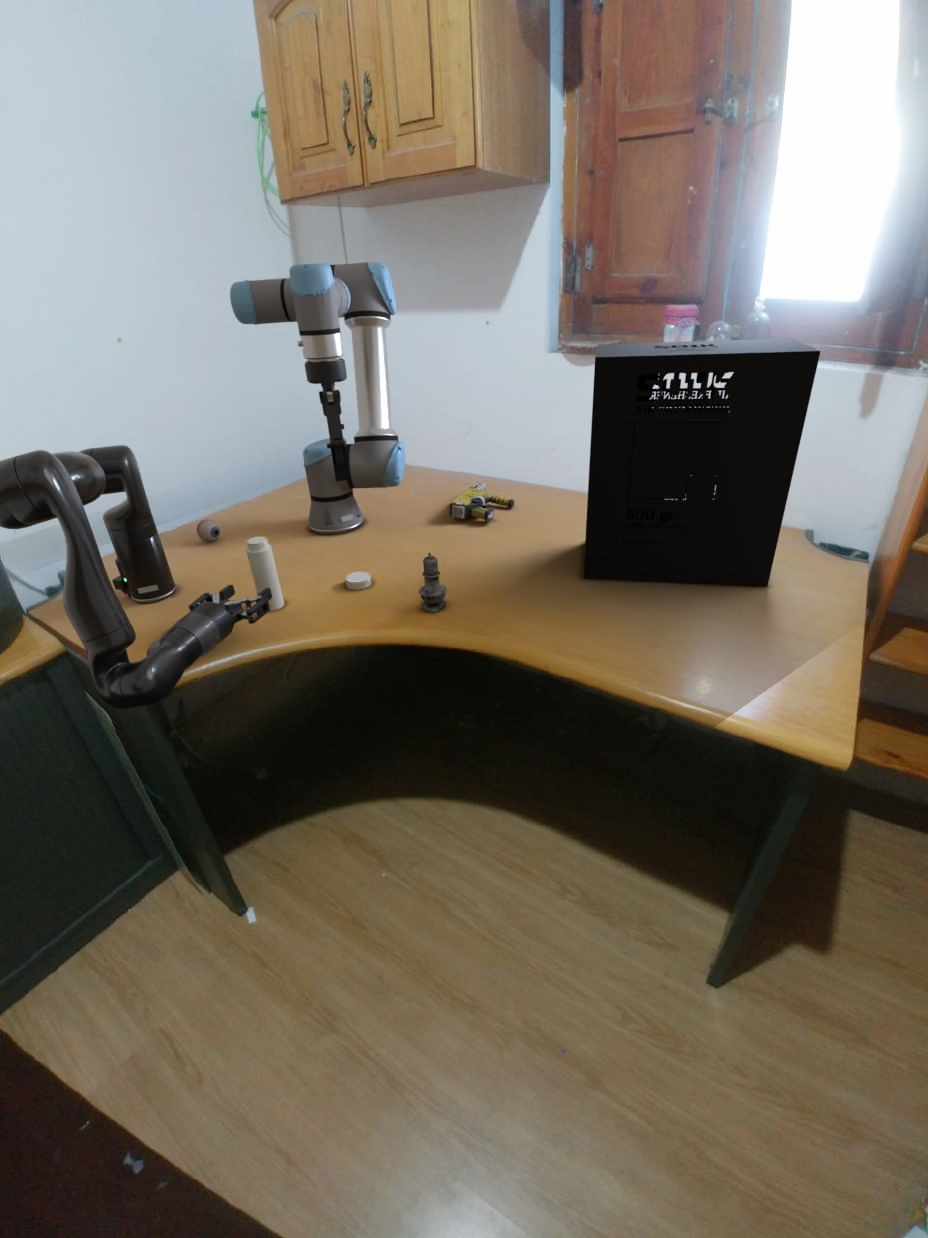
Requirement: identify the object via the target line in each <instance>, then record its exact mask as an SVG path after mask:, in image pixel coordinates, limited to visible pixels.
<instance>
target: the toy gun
mask: <svg viewBox="0 0 928 1238" xmlns="http://www.w3.org/2000/svg"><path fill="white" fill-rule="evenodd" d="M486 491H487V484H486V483H485V482H480V481H477V482H475V483H474V484H473V485H472V486H469V487H468V488H467V489H466V490H465V491H463V492H462V493H461V494H459V496H457V497H456V498H455V499H453V500H452V501H451V502H450V503H449V505H448V506H449V507H448V516H450V518H453V519H454V520H456V519H457V520H459V521H460V520H461V519H462V520H469V519H473V518H478V519H482V520H484V523H489V522H490V521H492V520H494V516H495V515H494V514H495V507H492V506H491V507H489V508H488V506H487V505H488V504H490V503H491V504H495V505H498V506H503V507H506V508H509V509H512V508H514V506H515V500H514V499H513V498H507V497H503V496H499V495H495V494H492V495H491V496H490V497H489V495H488V493H487V492H486Z"/></svg>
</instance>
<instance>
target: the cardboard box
mask: <svg viewBox="0 0 928 1238" xmlns="http://www.w3.org/2000/svg"><path fill="white" fill-rule="evenodd" d="M820 356H821V350H820V349H817V348H816V347H812V346H810V345H808V344H806V343H803V342H801V341H798V340H796V339H793V338H790V337H788V338H786V337H785V338H756V339H755V338H754V339H725V340H695V341H694V340H692V341H665V342H664V341H661V342H636V343H635V342H631V343H604V344H603V343H602V344H601V343H600V344H599V343H598V344H596V349H595V355H594V369H593V370H594V373H593V391H592V407H591V408H592V410H591V428H590V429H591V430H590V445H589V446H590V448H589V466H588V484H587V501H586V503H587V505H586V521H585V522H586V523H585V542H584V543H585V544H584V560H583V579H596V580H597V579H598V580H599V579H600V580H616V581H617V580H621V581H639V582H640V581H642V582H661V583H663V582H665V583H666V582H667V583H688V584H709V585H710V584H711V585H730V586H731V585H734V586H755V587H768V586H769V582H770V577H771V573H772V568H773V564H774V559H775V555H776V551H777V546H778V542H779V538H780V533H781V529H782V525H783V520H784V515H785V512H786V511H785V510H786V506H787V502H788V498H789V493H790V488H791V485H792V480H793V475H794V472H795V471H794V470H795V466H796V462H797V458H798V453H799V448H800V444H801V439H802V436H803V430H804V427H805V422H806V417H807V413H808V409H809V404H810V399H811V395H812V391H813V387H814V383H815V378H816V374H817V373H816V372H817V369H818V364H819V362H820V361H819V359H820ZM729 373H732V374H731V376H730V377H728V378H727V377H724V376H725V375H726V374H729ZM669 374H673V378H671V379H670V381H669V388H668V387H667V386H668V385H667V384H668V378H665V377H666V376H667V375H669ZM680 374H685V378H684V384H687V386H686V387H681V386H682V379H681V378H680ZM693 374H696V378H692V375H693ZM710 374H712V378H711V383H710V385H709V386H708V384H709V379H710V378H709V377H710ZM695 379H696V380H695ZM695 383H696V384H700V387H694V385H695ZM715 384H724V386H723V387H717V386H715ZM654 386H657V387H658V388H654Z"/></svg>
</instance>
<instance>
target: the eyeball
mask: <svg viewBox="0 0 928 1238" xmlns="http://www.w3.org/2000/svg"><path fill="white" fill-rule="evenodd" d="M196 534H197V536H198V538H199V539H201V540H202V541H204V542H208V543H209V542H211V543H212V542H215V541H216V540H218V539H219V538H220V536H221V534H222V529H221V526H220V524H219V523H218V522H217V521H216V520H214V519H211V518H206V519H203V520H200V521H199V522H198V524H197V526H196Z"/></svg>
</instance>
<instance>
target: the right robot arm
mask: <svg viewBox="0 0 928 1238" xmlns="http://www.w3.org/2000/svg"><path fill="white" fill-rule="evenodd" d="M395 295H396V294H395V290H394V286H393V282H392V278H391V275H390V271H389V269H388V267H387V266H386V265H385V263H383V262H369V261H365V262H354V263H339V264H328V263H326V262H325V263H323V262H321V263H319V262H317V263H302V264H301V263H300V264H293V265H291V266H290V267H289V277H288V276H287V277H279V278H278V277H277V278H267V279H255V280H248V279H245V280H242V281H235V282H233V283H232V284H231V286H230V290H229V299H230V306H231V309H232V312H233V314H234V317H235V318H236V319H237V322H239V323H240V324H242V325H255V326H258V325H267V324H280V323H297V329H298V334H299V338H300V340H298V341H297V347H299V348H301V347H302V348H301V349H302V357H303V358H304V359H305V360H306V361H305V362H304V364H303V365H304V371H305V376H306V381H307V382H308V383H309V384H314V385H318V384H319V385H320V386H321V388H322V390H320V391H318V396H319V397H318V398H319V401H320V405H321V406H322V413H323V416H324V417H326V422H327V428H328V435H329V438H325V439H324V438H323V439H320V440H316V441H314V442H312V443H309V444H308V445H306V446H305V447H304V448H303V450H302V457H303V467H304V471H305V477H306V481H307V486H308V492H309V498H310V507H309V513H308V528H309V529H308V530H310V531H311V532H312V533H314V534H317V535H323V536H324V535H325V536H327V535H329V536H331V535H339V534H340V535H341V534H345V533H350V532H353V531H355V530H357V529H359V528H361V527H362V526H363V525H364V523H365V519H364V514H363V512H362V510H361V508H360V505H359V504H358V501H357V500H356V498H355V495H354V489H378V488H379V489H380V488H381V489H386V488H393V487H394V488H395V487H398V486H399V485H401V484H402V481H403V479H404V475H405V469H406V468H405V466H406V445H405V442H404V441H401V440H399V434H398V433H397V432H396V431H395V430H394V429H393V426H392V411H391V395H390V379H389V367H388V366H389V365H388V364H389V363H388V353H387V352H388V349H387V333H386V331H387V329H388V327H389V326H390V325H391V322H392V320H391V316H394V315H396V314H397V302H396V296H395ZM341 318H343V321H344V325H345V326H346V327H347V328H348V329H349V330H350V331H351V341H352V342H351V343H352V344H351V345H352V356H353V357H352V359H353V367H354V369H353V370H354V382H355V394H356V396H355V397H356V404H357V405H356V407H357V420H358V430H357V432H356V433H355V434H354V435H353V443H347V440H346V439H345V437H344V435H343V430H345V424H344V423H342V421H341V415H342V406H341V402H342V398H341V392H340V389H336V388H335V386H336V383H341V382H344V381H346V380H347V378H348V374H347V367H346V360H345V359H344V358H342V357H343V356H344V355H345V350H344V343H343V337H342V336H343V335H342V332H341V326H340V319H341Z"/></svg>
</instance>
